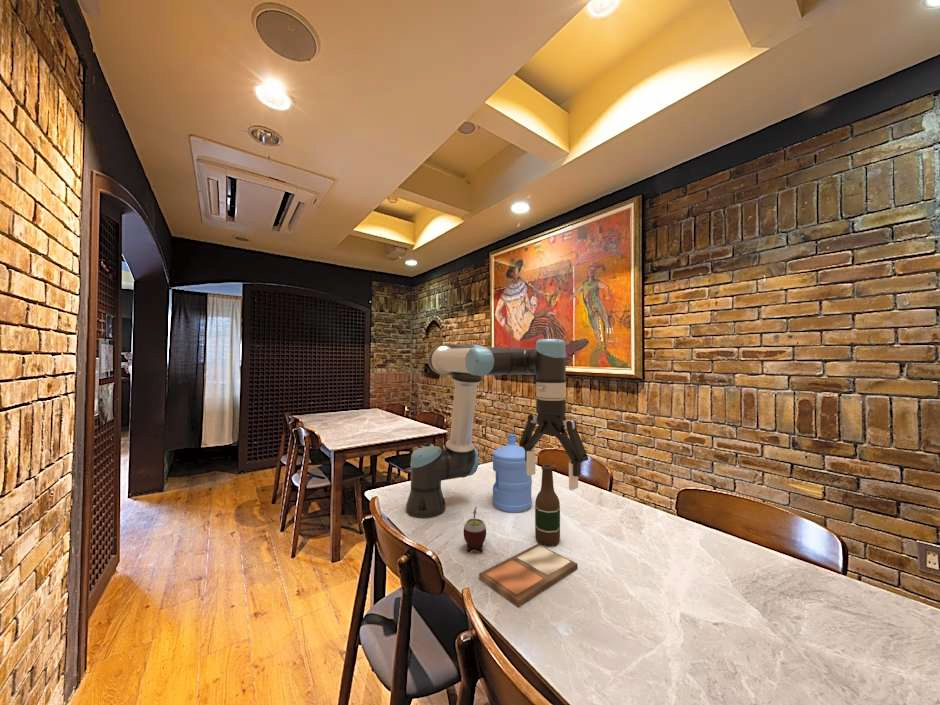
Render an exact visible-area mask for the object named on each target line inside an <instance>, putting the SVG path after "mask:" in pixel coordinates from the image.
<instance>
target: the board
mask: <svg viewBox="0 0 940 705" xmlns="http://www.w3.org/2000/svg"><path fill="white" fill-rule="evenodd" d="M577 570H578V563H577V562H575V561H573V560H571V559H570V558H567V557H565V556H564V555H561V554H559V553H557V552H555V551H553V550H551V549H549V548H548V547H546V546H543V545H540V544H539V543H537V544H535V545H532V546H531V547H529V548H526V549H524V550H523V551H520V552H519V553H516V554H514V555H513V556H511V557H509V558H507V559H505V560H503V561H501V562H499V563H497V564H495V565H493V566H491V567H489V568H487V569H485V570H483V571H480V572H479V573H478V579H479V580H480V581H481V582H482V583H483V584H485V585H486V586H488V587H489V588H491V589H492V590H494V592H496V593H498V594H499V595H500V596H501V597H503V598H505V599H506V600H508V601H509V602H511V604H513V605H514V606H516V607H517V608H520V607H521V606H523V605H524V604H526V603H527V602H529V601H530V600H532V599H534V598H535V597H537V596H539V594H541V593H543V592H544V591H547V590H548V589H549V588H551V587H552V586H554V585H556V584H557V583H559V582H560V581H562V580H563V579H565V578H566V577H568V576H569V575H571V574H572V573H574V572H576V571H577Z"/></svg>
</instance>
